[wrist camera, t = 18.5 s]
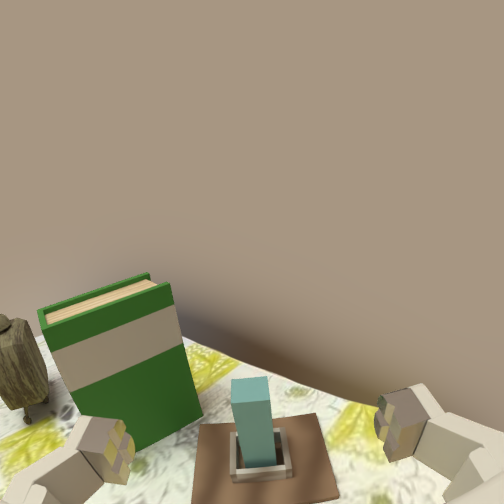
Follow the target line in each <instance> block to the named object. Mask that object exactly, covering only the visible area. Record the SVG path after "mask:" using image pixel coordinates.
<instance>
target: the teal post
mask: <svg viewBox="0 0 504 504" xmlns="http://www.w3.org/2000/svg"><path fill="white" fill-rule="evenodd" d="M231 406H232V411H233V416H234V420H235V425H236V429H237V434H238V438H239V443H240V447H241V451H242V455H243V460H244V464H245V468H246V469H248V468H260V467H270V466H277V463H276V453H275V443H274V433H273V424H272V414H271V404H270V395H269V387H268V379H267V376H264V377H254V378H244V379H232V380H231Z"/></svg>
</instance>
